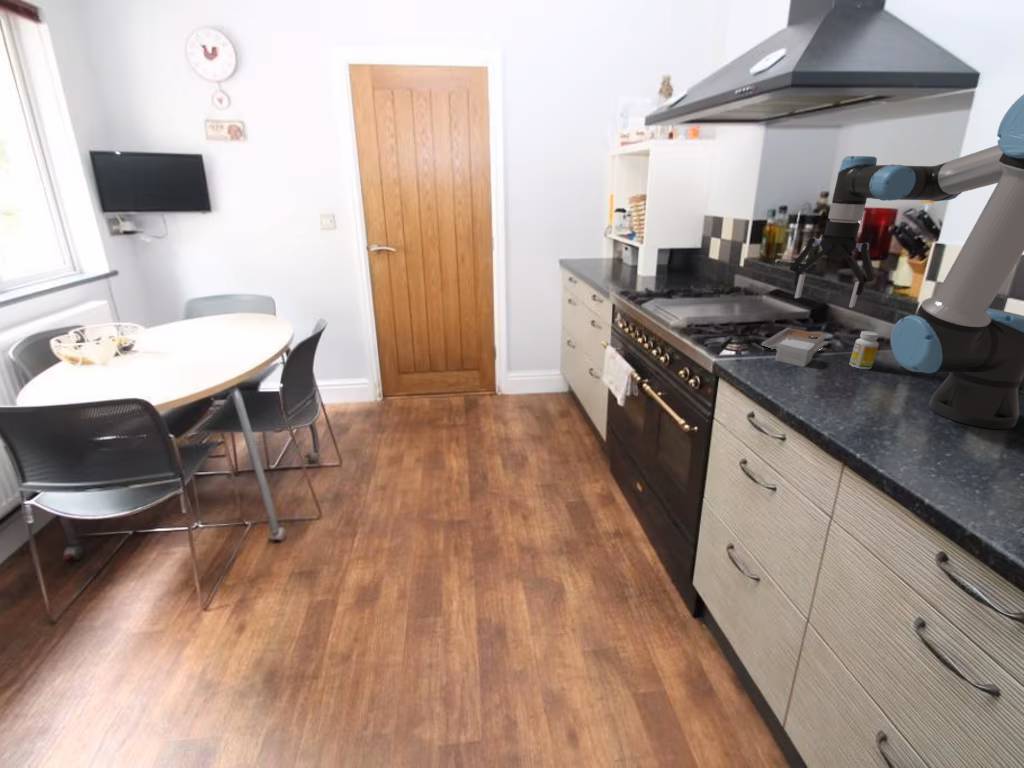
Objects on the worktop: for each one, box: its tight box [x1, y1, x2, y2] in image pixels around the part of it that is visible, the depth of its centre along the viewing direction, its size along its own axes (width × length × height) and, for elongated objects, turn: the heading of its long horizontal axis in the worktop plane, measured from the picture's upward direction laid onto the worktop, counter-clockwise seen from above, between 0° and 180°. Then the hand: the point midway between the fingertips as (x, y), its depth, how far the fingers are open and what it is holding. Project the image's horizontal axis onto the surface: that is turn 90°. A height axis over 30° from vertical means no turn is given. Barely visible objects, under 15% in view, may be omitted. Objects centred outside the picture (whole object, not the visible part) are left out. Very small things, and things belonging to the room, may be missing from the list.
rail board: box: [760, 327, 827, 356], centre depth 164 cm, size 20×14×2 cm
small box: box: [775, 338, 815, 368], centre depth 150 cm, size 8×8×5 cm
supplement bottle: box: [848, 330, 879, 370], centre depth 146 cm, size 5×5×10 cm
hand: (823, 302), depth 147 cm, fingers open, 13 cm apart
